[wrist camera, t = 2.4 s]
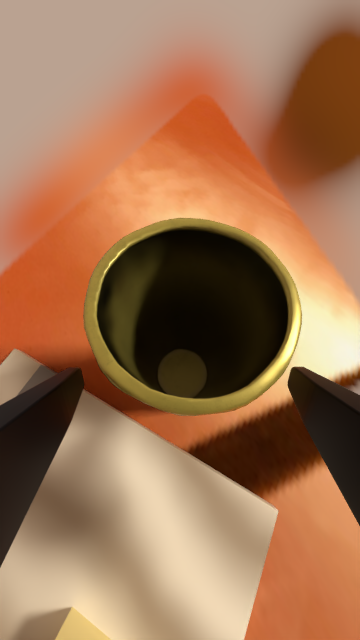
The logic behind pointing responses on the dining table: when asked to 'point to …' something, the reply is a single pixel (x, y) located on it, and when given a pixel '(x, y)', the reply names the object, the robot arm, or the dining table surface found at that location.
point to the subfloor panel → (130, 534)
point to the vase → (192, 316)
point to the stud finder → (79, 628)
